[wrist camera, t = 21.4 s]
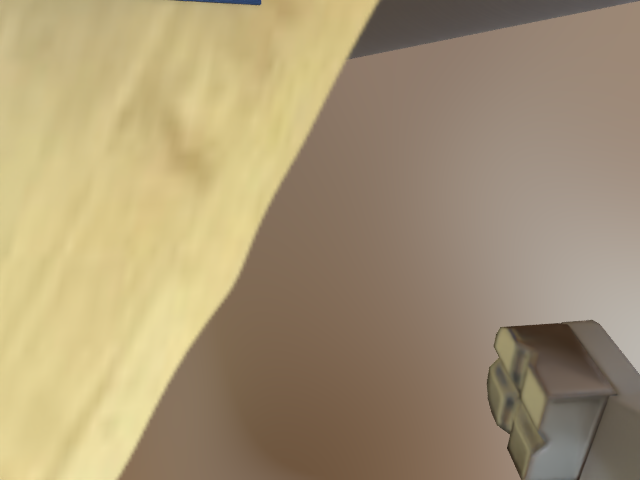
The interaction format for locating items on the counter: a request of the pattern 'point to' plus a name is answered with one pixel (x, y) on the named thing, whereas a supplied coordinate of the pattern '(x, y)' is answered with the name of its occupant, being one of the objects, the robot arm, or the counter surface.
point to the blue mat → (230, 1)
